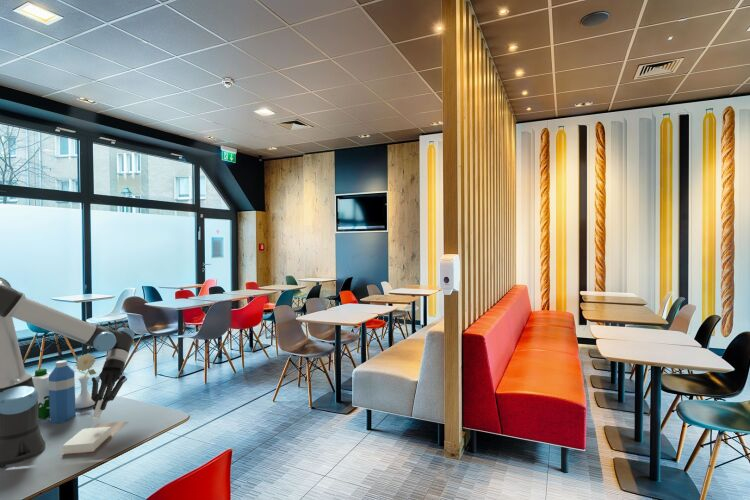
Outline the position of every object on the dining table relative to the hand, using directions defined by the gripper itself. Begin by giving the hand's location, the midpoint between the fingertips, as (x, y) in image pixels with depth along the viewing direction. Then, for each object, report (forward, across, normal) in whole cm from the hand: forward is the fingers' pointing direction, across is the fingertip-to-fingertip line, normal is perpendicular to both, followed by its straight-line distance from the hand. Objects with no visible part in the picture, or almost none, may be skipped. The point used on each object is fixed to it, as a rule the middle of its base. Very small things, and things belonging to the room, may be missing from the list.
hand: (95, 418), depth 155 cm
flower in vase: (-20, +22, -32) cm, 44 cm away
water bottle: (-10, +25, -23) cm, 36 cm away
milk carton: (-14, +34, -27) cm, 46 cm away
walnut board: (+5, +1, -7) cm, 9 cm away
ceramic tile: (+3, +1, -6) cm, 6 cm away
